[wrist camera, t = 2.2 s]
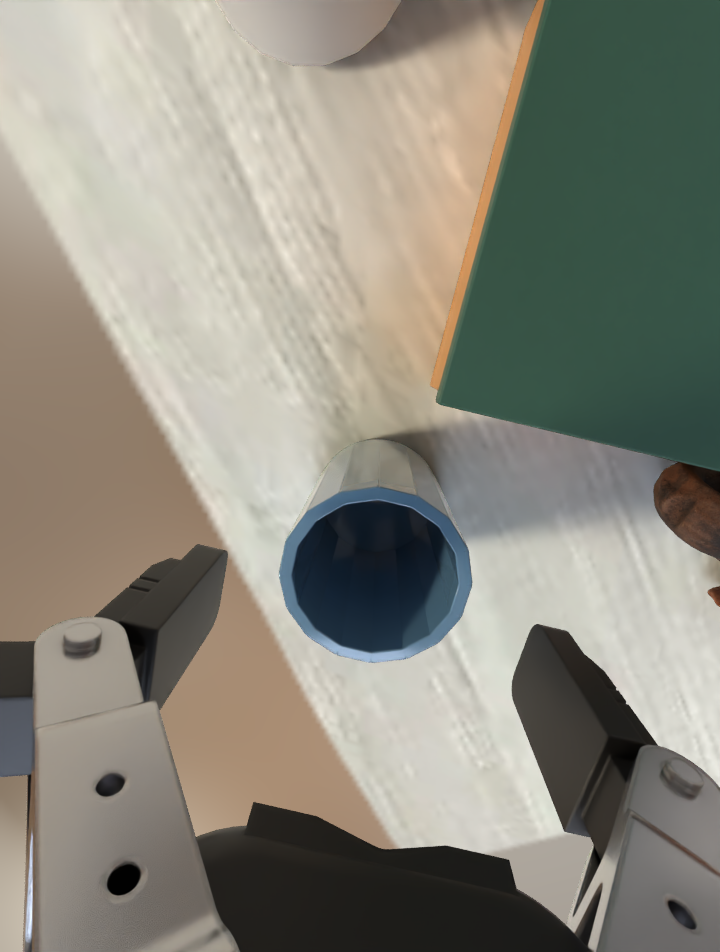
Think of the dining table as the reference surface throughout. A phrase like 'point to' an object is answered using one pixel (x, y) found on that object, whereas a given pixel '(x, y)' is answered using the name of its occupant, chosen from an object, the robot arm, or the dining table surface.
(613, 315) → the container
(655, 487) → the brown jagged ring
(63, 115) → the dining table surface
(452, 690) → the dining table surface
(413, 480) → the cup
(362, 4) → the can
